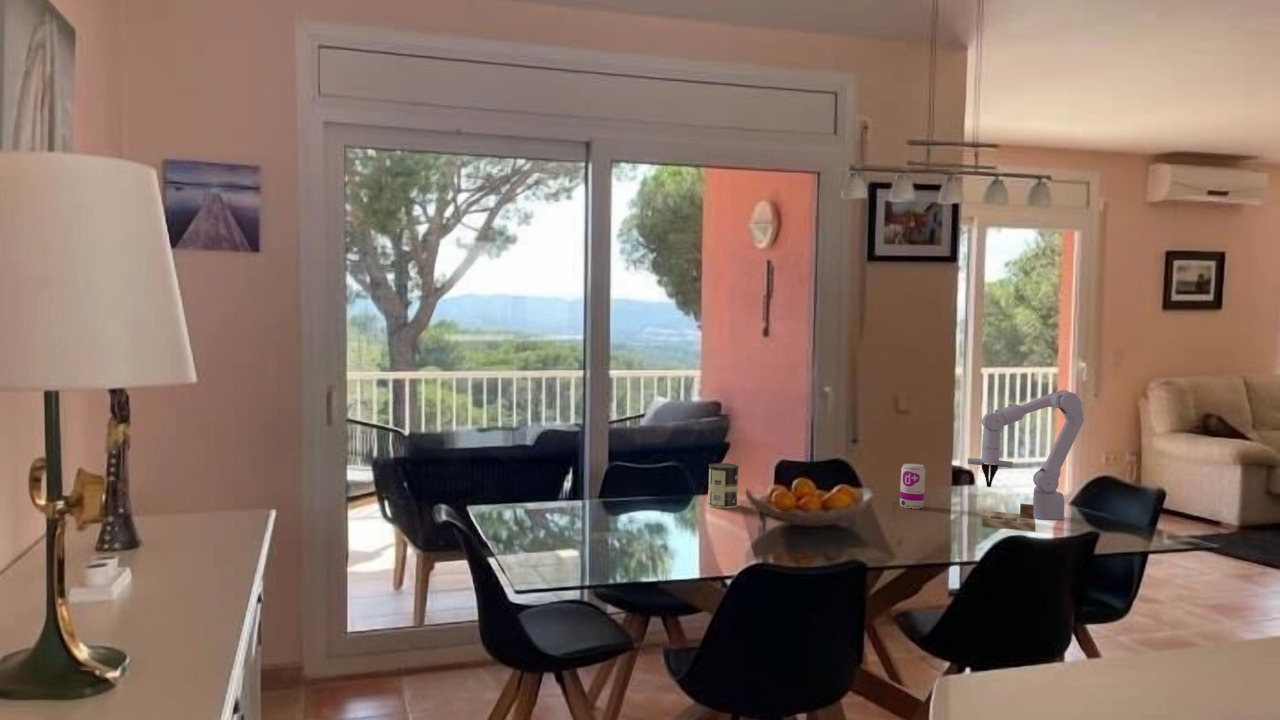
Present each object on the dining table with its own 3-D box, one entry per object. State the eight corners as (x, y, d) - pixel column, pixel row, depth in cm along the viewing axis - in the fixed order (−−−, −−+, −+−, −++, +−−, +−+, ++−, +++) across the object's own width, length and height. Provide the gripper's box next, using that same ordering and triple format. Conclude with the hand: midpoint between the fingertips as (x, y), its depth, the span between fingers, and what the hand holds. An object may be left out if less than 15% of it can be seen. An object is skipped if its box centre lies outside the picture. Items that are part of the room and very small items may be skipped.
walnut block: (1032, 516, 316) (1033, 504, 315) (1033, 519, 312) (1033, 506, 312) (1019, 515, 317) (1020, 503, 317) (1019, 517, 313) (1020, 505, 313)
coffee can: (736, 503, 335) (737, 463, 334) (738, 509, 325) (739, 468, 324) (706, 502, 335) (708, 462, 334) (708, 508, 325) (709, 467, 324)
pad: (1033, 522, 318) (1034, 515, 318) (1034, 528, 310) (1035, 520, 310) (1017, 521, 320) (1018, 513, 319) (1018, 526, 312) (1018, 518, 312)
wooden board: (1033, 522, 318) (1034, 515, 318) (1035, 531, 305) (1035, 523, 305) (982, 517, 323) (983, 510, 323) (982, 526, 310) (982, 518, 310)
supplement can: (918, 510, 332) (920, 467, 331) (896, 507, 337) (897, 465, 336) (927, 507, 338) (929, 465, 338) (904, 503, 343) (906, 462, 342)
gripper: (968, 447, 328) (966, 486, 329) (1013, 450, 323) (1011, 490, 324) (968, 444, 335) (967, 483, 335) (1013, 448, 330) (1011, 487, 330)
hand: (988, 486), depth 330 cm, fingers closed
